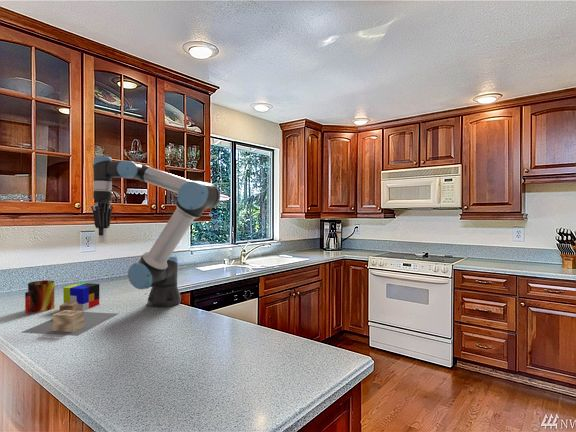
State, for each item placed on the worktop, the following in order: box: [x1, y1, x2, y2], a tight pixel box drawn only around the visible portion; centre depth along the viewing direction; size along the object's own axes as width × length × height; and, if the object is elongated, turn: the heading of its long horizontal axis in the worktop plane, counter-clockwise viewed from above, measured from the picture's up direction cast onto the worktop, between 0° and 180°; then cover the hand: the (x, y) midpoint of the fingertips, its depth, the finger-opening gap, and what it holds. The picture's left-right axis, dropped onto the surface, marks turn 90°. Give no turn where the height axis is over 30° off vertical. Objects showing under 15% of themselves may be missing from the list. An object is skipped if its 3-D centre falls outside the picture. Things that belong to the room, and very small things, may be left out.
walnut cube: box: [58, 302, 79, 312], centre depth 150 cm, size 5×5×5 cm
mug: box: [24, 279, 55, 315], centre depth 157 cm, size 10×14×12 cm
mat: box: [21, 311, 119, 337], centre depth 143 cm, size 22×26×1 cm
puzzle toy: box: [62, 282, 100, 312], centre depth 163 cm, size 10×10×10 cm
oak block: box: [52, 310, 85, 332], centre depth 135 cm, size 8×6×6 cm
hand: (102, 242), depth 165 cm, fingers closed
